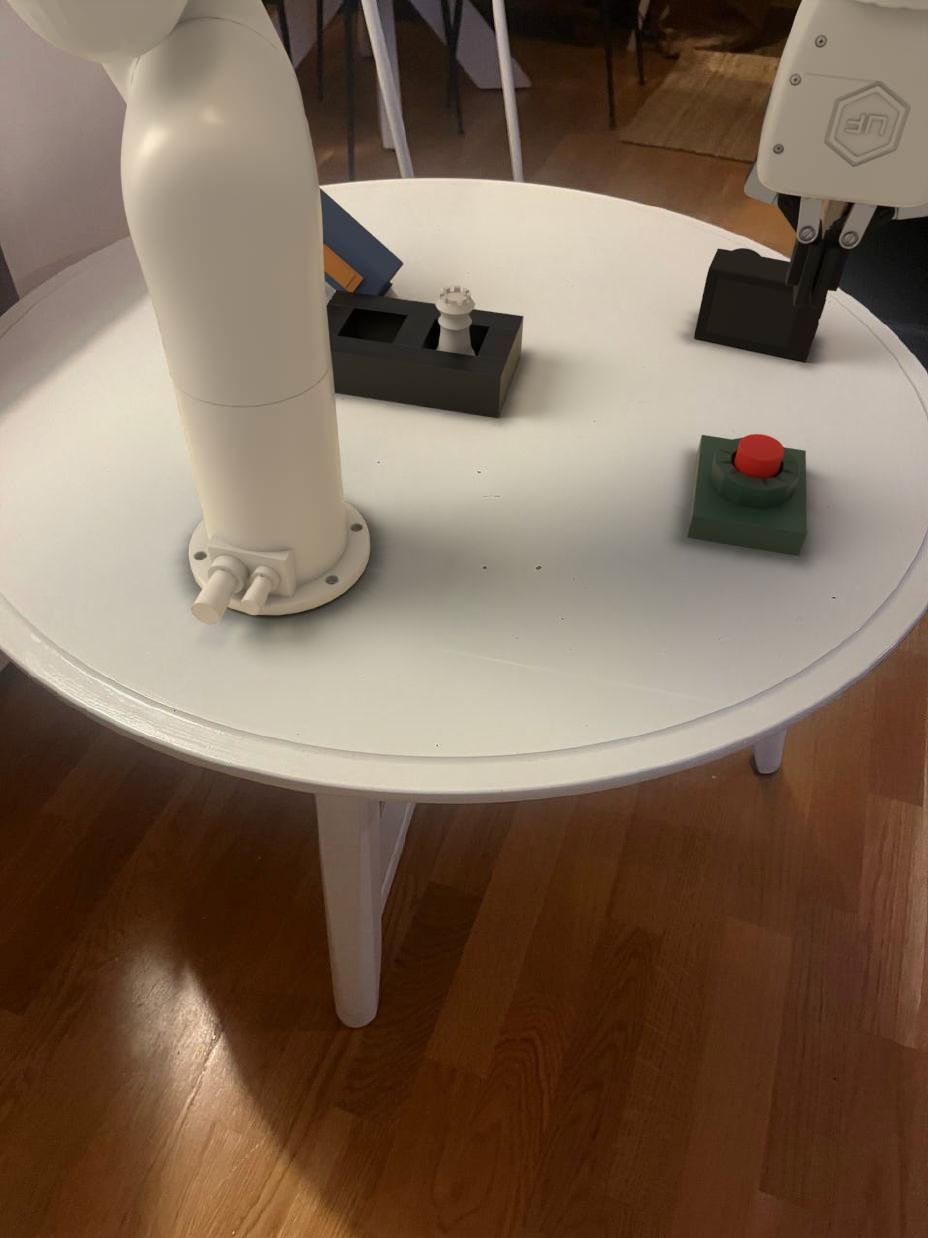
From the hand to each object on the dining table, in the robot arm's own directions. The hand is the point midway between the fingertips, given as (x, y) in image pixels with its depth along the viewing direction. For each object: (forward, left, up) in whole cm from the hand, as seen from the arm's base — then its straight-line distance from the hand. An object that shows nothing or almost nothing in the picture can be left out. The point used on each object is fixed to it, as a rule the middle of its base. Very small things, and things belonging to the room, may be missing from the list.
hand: (807, 296), depth 62 cm
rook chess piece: (+11, +25, -17) cm, 33 cm away
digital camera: (+25, 0, -17) cm, 30 cm away
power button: (0, 0, -13) cm, 13 cm away
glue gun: (+21, +44, -17) cm, 52 cm away
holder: (+11, +29, -17) cm, 35 cm away
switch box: (0, 0, -17) cm, 17 cm away
